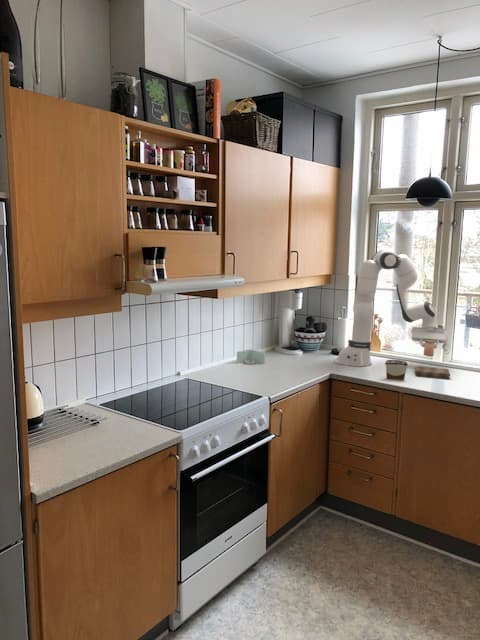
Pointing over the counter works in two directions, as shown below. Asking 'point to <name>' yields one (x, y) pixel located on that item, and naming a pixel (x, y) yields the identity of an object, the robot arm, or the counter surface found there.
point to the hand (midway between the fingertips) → (429, 347)
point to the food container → (395, 369)
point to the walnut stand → (432, 372)
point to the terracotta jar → (429, 347)
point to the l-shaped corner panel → (250, 357)
